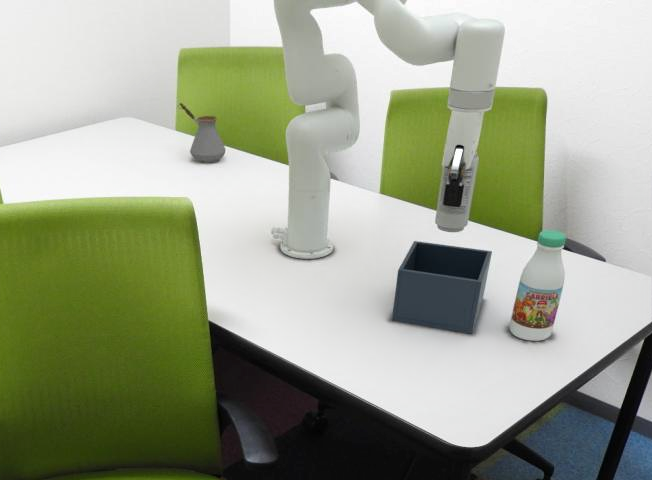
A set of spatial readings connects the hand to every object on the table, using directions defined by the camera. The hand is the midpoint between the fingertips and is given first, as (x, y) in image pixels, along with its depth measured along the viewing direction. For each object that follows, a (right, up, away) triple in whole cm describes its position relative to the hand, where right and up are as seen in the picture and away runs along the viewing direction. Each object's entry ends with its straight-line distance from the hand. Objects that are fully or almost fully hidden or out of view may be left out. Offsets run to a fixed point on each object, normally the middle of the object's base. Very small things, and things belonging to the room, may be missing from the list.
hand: (454, 199), depth 142 cm
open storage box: (+1, -19, +13) cm, 23 cm away
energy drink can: (0, -5, +3) cm, 6 cm away
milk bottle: (+16, -25, +5) cm, 30 cm away
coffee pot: (-51, +43, +107) cm, 126 cm away
